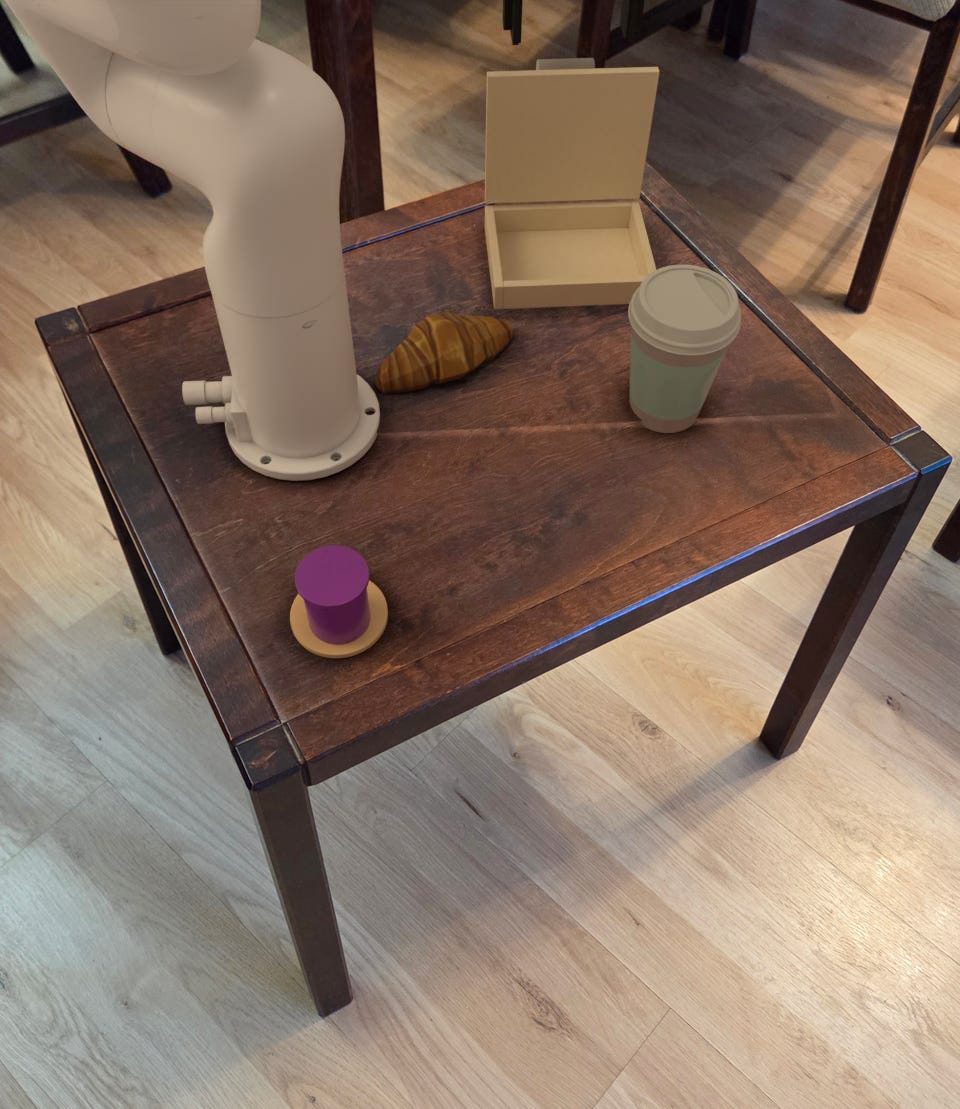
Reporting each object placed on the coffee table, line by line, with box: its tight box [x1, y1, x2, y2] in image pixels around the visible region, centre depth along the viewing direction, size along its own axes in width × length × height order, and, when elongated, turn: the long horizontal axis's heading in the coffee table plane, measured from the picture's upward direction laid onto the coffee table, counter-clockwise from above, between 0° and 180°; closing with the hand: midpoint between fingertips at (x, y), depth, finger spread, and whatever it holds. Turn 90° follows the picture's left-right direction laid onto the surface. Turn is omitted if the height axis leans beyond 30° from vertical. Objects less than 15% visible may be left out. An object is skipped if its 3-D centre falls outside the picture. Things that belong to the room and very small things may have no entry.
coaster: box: [289, 580, 389, 659], centre depth 76 cm, size 7×7×1 cm
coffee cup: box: [627, 264, 742, 434], centre depth 84 cm, size 9×8×12 cm
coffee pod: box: [294, 544, 370, 645], centre depth 73 cm, size 5×5×6 cm
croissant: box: [373, 311, 516, 395], centre depth 89 cm, size 14×7×5 cm, turn 122°
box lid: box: [484, 57, 660, 205], centre depth 95 cm, size 12×15×6 cm
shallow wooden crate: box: [484, 199, 657, 310], centre depth 97 cm, size 12×15×3 cm
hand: (570, 34), depth 90 cm, fingers open, 9 cm apart
